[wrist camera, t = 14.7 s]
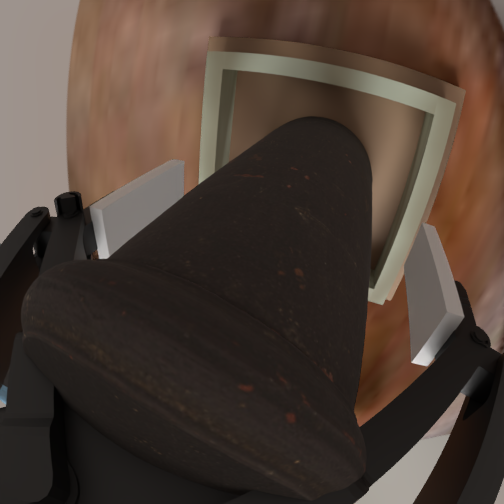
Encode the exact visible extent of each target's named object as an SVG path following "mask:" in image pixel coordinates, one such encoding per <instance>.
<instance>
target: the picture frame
mask: <svg viewBox="0 0 504 504" xmlns="http://www.w3.org/2000/svg"><path fill="white" fill-rule="evenodd" d="M465 92H466V90H464V89H461V88H459V87H457V86H455V85H452V84H450V83H447V82H445V81H442V80H440V79H437V78H435V77H432V76H430V75H427V74H424V73H421V72H419V71H416V70H413V69H410V68H407V67H404V66H401V65H397V64H394V63H391V62H387V61H384V60H380V59H377V58H373V57H369V56H365V55H361V54H357V53H353V52H348V51H344V50H339V49H334V48H329V47H323V46H317V45H311V44H305V43H298V42H290V41H281V40H271V39H260V38H244V37H209V42H208V51H207V60H206V71H205V83H204V95H203V109H202V125H201V142H200V163H199V184H200V183H201V182H203V181H204V180H205V179H206V178H208V177H209V176H211V175H212V174H213V173H215V172H216V171H217V170H219V169H220V168H222V167H223V166H224V165H226V164H227V163H228V162H230V161H231V160H233V159H234V158H236V157H237V156H239V155H240V154H241V153H243V152H244V151H245V150H247V149H248V148H250V147H251V146H252V145H254V144H255V143H257V142H258V141H260V140H261V139H263V138H264V137H265V136H267V135H268V134H269V133H271V132H272V131H274V130H275V129H277V128H278V127H280V126H282V125H283V124H285V123H287V122H289V121H292V120H294V119H297V118H301V117H307V116H316V117H324V118H328V119H332V120H334V121H337V122H339V123H341V124H342V125H344V126H345V127H347V128H348V129H349V130H351V131H352V132H353V133H354V134H355V135H356V136H357V137H358V139H359V140H360V141H361V143H362V144H363V146H364V148H365V150H366V152H367V154H368V157H369V160H370V164H371V170H372V178H373V182H372V193H373V194H372V250H371V269H370V281H369V292H368V301H370V302H374V303H377V304H381V305H383V303H384V301H385V299H387V300H390V301H391V299H392V297H393V295H394V293H395V291H396V289H397V287H398V285H399V283H400V281H401V279H402V277H403V275H404V264H405V262H406V259H407V257H408V255H409V253H410V250H411V248H412V246H413V243H414V241H415V239H416V236H417V234H418V231H419V229H420V226H421V224H422V223H425V224H426V222H427V219H428V217H429V214H430V212H431V209H432V206H433V204H434V201H435V198H436V195H437V193H438V190H439V187H440V184H441V181H442V178H443V175H444V172H445V169H446V166H447V162H448V159H449V156H450V152H451V149H452V145H453V142H454V138H455V135H456V131H457V127H458V123H459V119H460V115H461V110H462V106H463V101H464V96H465Z"/></svg>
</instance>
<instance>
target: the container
mask: <svg viewBox="0 0 504 504" xmlns="http://www.w3.org/2000/svg"><path fill="white" fill-rule="evenodd" d="M372 182H373V178H372V170H371V164H370V160H369V157H368V154H367V152H366V150H365V148H364V146H363V144H362V143H361V141H360V140H359V139H358V137H357V136H356V135H355V134H354V133H353V132H352V131H351V130H349V129H348V128H347V127H345V126H344V125H342V124H341V123H339V122H337V121H334V120H332V119H328V118H324V117H316V116H307V117H301V118H297V119H294V120H292V121H289V122H287V123H285V124H283V125H282V126H280V127H278V128H277V129H275V130H274V131H272V132H271V133H269V134H268V135H267V136H265V137H264V138H263V139H261V140H260V141H258V142H257V143H255V144H254V145H252V146H251V147H250V148H248V149H247V150H245V151H244V152H243V153H241V154H240V155H239V156H237V157H236V158H234V159H233V160H231V161H230V162H228V163H227V164H226V165H224V166H223V167H222V168H220V169H219V170H217V171H216V172H215V173H213V174H212V175H211V176H209V177H208V178H206V179H205V180H204V181H203V182H201V183H200V184H198V185H197V186H196V187H195V188H194V189H192V190H191V191H190V192H188V193H187V194H186V195H185V196H183V197H182V198H181V199H179V200H178V201H177V202H176V203H175V204H173V205H172V206H171V207H170V208H168V209H167V210H166V211H164V212H163V213H162V214H161V215H160V216H158V217H157V218H156V219H155V220H153V221H152V222H151V223H150V224H148V225H147V226H146V227H145V228H143V229H142V230H141V231H139V232H138V233H137V234H136V235H134V236H133V237H132V238H131V239H129V240H128V241H127V242H126V243H125V244H124V245H122V246H121V247H120V248H119V249H118V250H117V251H115V252H114V253H113V254H112V255H111V256H110V257H108V258H107V259H96V260H73V261H69V262H65V263H62V264H59V265H56V266H53V267H52V268H50V269H49V270H47V271H45V272H44V273H42V274H41V275H40V276H39V277H38V278H37V279H36V280H35V281H34V282H33V283H32V285H31V286H30V288H29V289H28V291H27V293H26V295H25V296H24V300H23V303H22V309H21V323H22V330H23V337H22V341H23V349H24V352H25V353H26V355H27V356H28V357H29V358H30V359H31V360H32V361H33V362H34V363H35V364H36V366H37V367H38V368H39V369H40V370H41V372H42V373H43V374H44V375H45V376H46V377H47V378H48V379H49V380H50V381H51V382H52V383H53V384H54V386H55V388H56V390H57V391H58V393H59V395H60V396H61V398H62V399H63V401H64V402H65V403H66V404H67V405H68V406H69V407H70V408H71V409H72V410H73V411H74V412H75V413H76V414H77V415H79V416H80V417H81V418H82V419H83V420H84V421H86V422H87V423H88V424H89V425H90V426H92V427H93V428H94V429H96V430H97V431H98V432H99V433H101V434H102V435H103V436H105V437H106V438H108V439H109V440H111V441H112V442H114V443H115V444H116V445H118V446H119V447H121V448H123V449H124V450H126V451H127V452H129V453H131V454H132V455H134V456H136V457H138V458H140V459H141V460H143V461H145V462H147V463H149V464H152V465H154V466H156V467H158V468H160V469H162V470H164V471H167V472H169V473H172V474H174V475H177V476H179V477H181V478H184V479H187V480H189V481H192V482H195V483H197V484H201V485H203V486H206V487H209V488H213V489H216V490H219V491H223V492H226V493H230V494H234V495H238V496H241V495H244V494H246V493H248V492H250V491H252V490H256V491H261V492H265V493H270V494H275V495H281V496H286V497H291V498H297V499H302V500H311V501H312V500H315V499H318V498H319V497H321V496H322V495H324V494H327V493H330V492H335V491H338V490H342V489H344V488H346V487H348V486H350V485H351V484H352V483H354V482H356V481H357V480H358V479H360V478H362V476H363V475H364V473H365V471H366V460H367V456H366V446H365V442H364V438H363V434H362V432H361V430H360V428H359V426H358V424H357V419H356V415H355V413H354V406H355V402H356V397H357V392H358V386H359V379H360V372H361V364H362V355H363V348H364V339H365V327H366V319H367V303H368V292H369V281H370V269H371V250H372V194H373V193H372Z"/></svg>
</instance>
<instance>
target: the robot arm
mask: <svg viewBox="0 0 504 504" xmlns="http://www.w3.org/2000/svg"><path fill="white" fill-rule="evenodd" d="M183 196H184V161H181V160H176V159H172V160H170V161H168V162H166V163H164V164H162V165H160V166H158V167H157V168H155V169H153V170H151V171H149V172H147V173H145V174H144V175H142V176H140V177H138V178H136V179H135V180H133V181H131V182H129V183H128V184H126V185H124V186H122V187H121V188H119V189H117V190H116V191H113V192H111V193H109V194H108V195H106V196H105V197H103V198H101V199H100V200H98V201H96V202H95V203H93V204H91V205H90V206H88V207H87V208H85V209H84V210H83V206H82V199H81V193H79V192H75V191H73V192H66V193H63V194H61V195H59V196H57V197H56V198H55V200H54V202H55V208H56V212H57V217H50V214H49V209H48V208H47V207H36V208H33V210H31V211H29V212H28V213H27V214H26V215H25V216H24V218H22V220H21V221H20V222H19V223H18V224H17V225H16V227H15V228H14V229H13V231H11V233H10V234H9V235H8V236H7V238H6V239H5V240H4V241H3V243H2V244H0V400H1V401H2V402H3V403H5V404H6V407H3V408H0V504H354V503H355V502H356V501H358V500H359V499H360V498H361V497H362V496H364V495H365V494H366V493H367V492H368V491H369V487H370V486H371V485H372V484H373V483H374V482H376V481H377V480H378V479H379V478H380V477H382V476H383V475H384V474H385V473H386V472H387V471H388V470H389V469H391V467H393V466H394V465H395V464H396V463H397V462H398V461H399V460H400V459H401V458H402V457H403V456H404V455H405V454H406V453H407V452H408V451H409V450H410V449H411V448H412V447H413V446H414V445H415V444H416V443H417V442H418V441H419V440H420V439H421V438H422V437H423V436H424V435H425V434H426V433H427V432H428V430H429V429H430V428H431V427H432V426H433V425H434V424H435V423H436V421H437V420H438V419H439V418H440V417H441V416H442V414H443V413H444V412H445V411H446V410H447V408H448V407H449V406H450V405H451V403H452V402H453V401H454V400H455V398H456V397H457V396H458V394H459V393H460V392H461V393H463V394H464V395H466V397H465V400H464V403H463V405H462V408H461V410H460V413H459V415H458V418H457V420H456V423H455V425H454V427H453V430H452V432H451V434H450V437H449V439H448V441H447V443H446V445H445V447H444V449H443V451H442V454H441V455H440V457H439V459H438V461H437V463H436V465H435V467H434V469H433V471H432V472H431V474H430V476H429V478H428V480H427V481H426V483H425V485H424V486H423V488H422V490H421V492H420V493H419V495H418V496H417V498H416V499H415V501H414V503H413V504H494V502H495V500H496V497H497V495H498V492H499V490H500V487H501V484H502V481H503V478H504V353H503V354H500V353H499V352H497V351H495V350H494V349H492V348H490V346H491V343H490V339H489V337H488V335H487V334H486V333H485V332H484V330H482V329H481V328H480V327H478V326H476V322H475V319H474V315H473V312H472V308H471V307H470V306H471V305H470V302H469V300H468V295H467V292H466V290H465V289H464V287H463V286H462V284H461V283H460V282H458V281H455V280H454V279H453V276H452V273H451V270H450V267H449V264H448V261H447V258H446V255H445V252H444V250H443V247H442V244H441V241H440V239H439V236H438V234H437V231H436V229H435V227H434V226H431V225H428V224H425V223H422V224H421V226H420V229H419V231H418V234H417V236H416V239H415V241H414V243H413V246H412V248H411V250H410V253H409V255H408V257H407V259H406V262H405V264H404V273H405V281H406V290H407V300H408V311H409V325H410V343H411V363H415V364H419V365H424V366H428V365H429V364H430V362H431V361H432V360H433V359H434V357H435V362H434V363H433V364H432V365H431V366H430V367H429V368H428V369H427V370H426V371H425V372H424V373H422V374H421V375H420V376H419V377H418V378H417V379H416V380H415V381H414V382H413V383H412V384H411V385H410V386H409V387H408V388H407V389H405V390H404V391H403V392H402V393H401V394H400V395H399V396H398V397H396V398H395V399H394V400H393V401H392V402H391V403H389V404H388V405H387V406H386V407H385V408H383V409H382V410H381V411H380V412H379V413H377V414H376V415H375V416H374V417H372V418H371V419H370V420H369V421H367V422H366V423H365V424H363V425H362V426H361V427H359V428H360V430H361V432H362V434H363V438H364V442H365V446H366V456H367V460H366V471H365V473H364V475H363V476H362V478H360V479H358V480H357V481H356V482H354V483H352V484H351V485H350V486H348V487H346V488H344V489H342V490H338V491H335V492H330V493H327V494H324V495H322V496H321V497H319V498H318V499H315V500H312V501H311V500H302V499H297V498H291V497H286V496H281V495H275V494H270V493H265V492H261V491H256V490H252V491H250V492H248V493H246V494H244V495H241V496H238V495H234V494H230V493H226V492H223V491H219V490H216V489H213V488H209V487H206V486H203V485H201V484H197V483H195V482H192V481H189V480H187V479H184V478H181V477H179V476H177V475H174V474H172V473H169V472H167V471H164V470H162V469H160V468H158V467H156V466H154V465H152V464H149V463H147V462H145V461H143V460H141V459H140V458H138V457H136V456H134V455H132V454H131V453H129V452H127V451H126V450H124V449H123V448H121V447H119V446H118V445H116V444H115V443H114V442H112V441H111V440H109V439H108V438H106V437H105V436H103V435H102V434H101V433H99V432H98V431H97V430H96V429H94V428H93V427H92V426H90V425H89V424H88V423H87V422H86V421H84V420H83V419H82V418H81V417H80V416H79V415H77V414H76V413H75V412H74V411H73V410H72V409H71V408H70V407H69V406H68V405H67V404H66V403H65V402H64V401H63V399H62V398H61V396H60V395H59V393H58V391H57V390H56V388H55V386H54V384H53V383H52V382H51V381H50V380H49V379H48V378H47V377H46V376H45V375H44V374H43V373H42V372H41V370H40V369H39V368H38V367H37V366H36V364H35V363H34V362H33V361H32V360H31V359H30V358H29V357H28V356H27V355H26V353H25V352H24V349H23V341H22V337H23V330H22V323H21V309H22V303H23V300H24V296H25V295H26V293H27V291H28V289H29V288H30V286H31V285H32V283H33V282H34V281H35V280H36V279H37V278H38V277H39V276H40V275H41V274H42V273H44V272H45V271H47V270H49V269H50V268H52V267H53V266H56V265H59V264H62V263H65V262H69V261H73V260H93V255H92V253H93V252H94V251H96V250H98V255H99V259H107V258H108V257H110V256H111V255H112V254H113V253H114V252H115V251H117V250H118V249H119V248H120V247H121V246H122V245H124V244H125V243H126V242H127V241H128V240H129V239H131V238H132V237H133V236H134V235H136V234H137V233H138V232H139V231H141V230H142V229H143V228H145V227H146V226H147V225H148V224H150V223H151V222H152V221H153V220H155V219H156V218H157V217H158V216H160V215H161V214H162V213H163V212H164V211H166V210H167V209H168V208H170V207H171V206H172V205H173V204H175V203H176V202H177V201H178V200H179V199H181V198H182V197H183ZM33 247H34V250H35V254H34V255H33Z"/></svg>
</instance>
